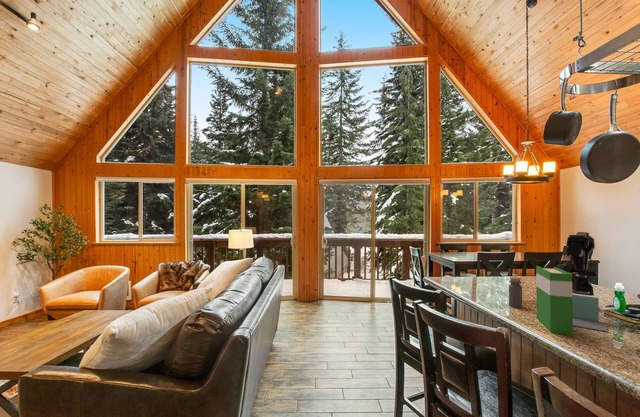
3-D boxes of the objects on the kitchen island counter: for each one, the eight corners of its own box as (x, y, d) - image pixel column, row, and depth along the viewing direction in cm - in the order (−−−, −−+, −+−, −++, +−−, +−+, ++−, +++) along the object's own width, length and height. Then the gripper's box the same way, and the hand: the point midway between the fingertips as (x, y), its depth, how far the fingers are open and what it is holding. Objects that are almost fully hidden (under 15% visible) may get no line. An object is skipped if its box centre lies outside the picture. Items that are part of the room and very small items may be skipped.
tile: (567, 316, 146) (566, 292, 146) (598, 321, 139) (598, 296, 139) (566, 317, 143) (566, 293, 143) (598, 323, 136) (598, 298, 137)
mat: (561, 317, 144) (561, 316, 144) (605, 324, 134) (605, 323, 134) (560, 324, 135) (560, 322, 135) (607, 332, 125) (607, 331, 125)
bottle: (520, 305, 162) (520, 276, 163) (523, 308, 157) (523, 278, 157) (507, 304, 164) (507, 276, 165) (510, 307, 159) (510, 278, 159)
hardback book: (536, 318, 141) (536, 266, 142) (556, 320, 139) (555, 267, 139) (550, 332, 125) (549, 273, 125) (572, 335, 122) (572, 274, 123)
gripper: (548, 258, 165) (547, 287, 162) (572, 255, 147) (571, 288, 144) (571, 261, 163) (570, 291, 160) (598, 259, 145) (598, 293, 142)
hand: (576, 291), depth 151 cm, fingers closed
